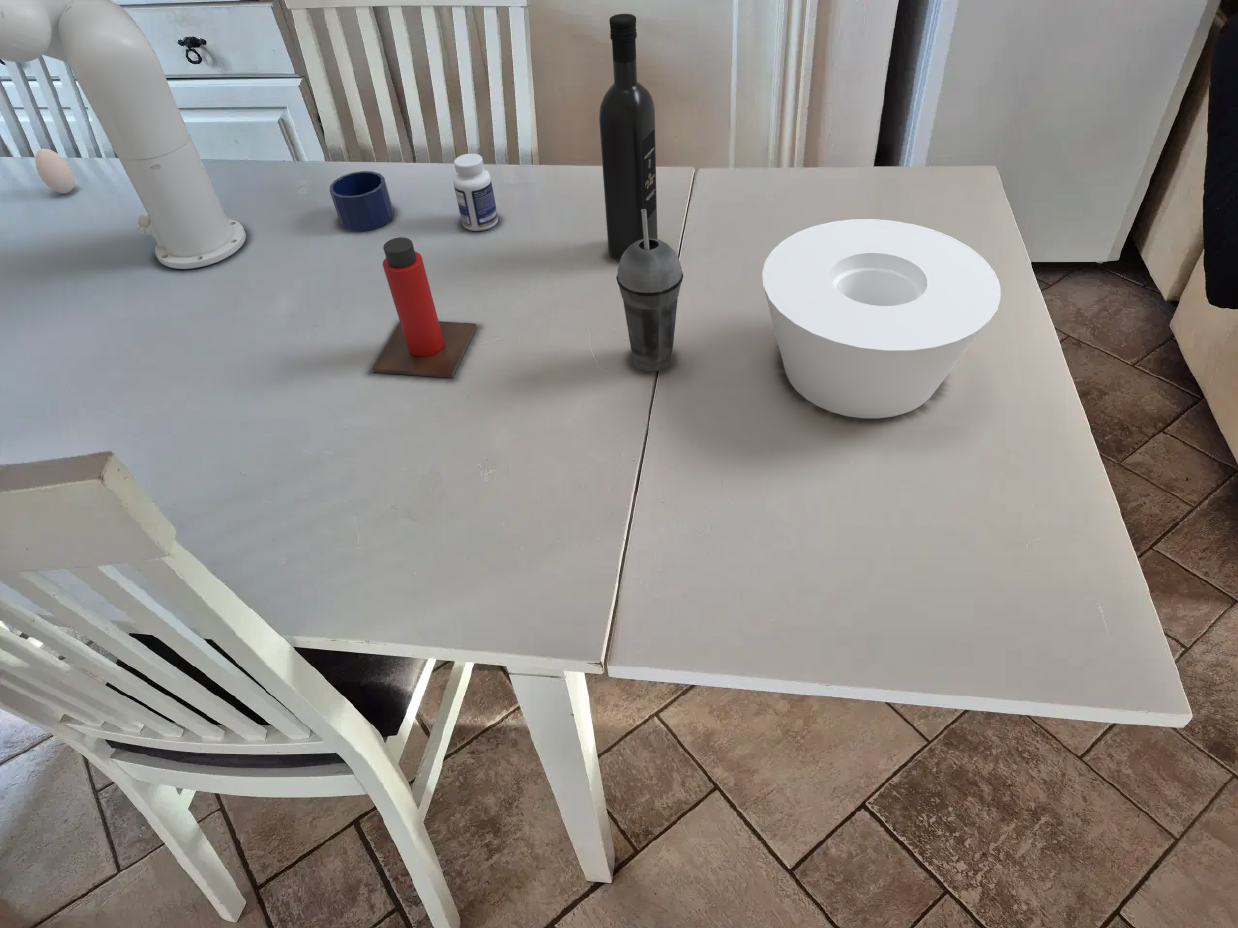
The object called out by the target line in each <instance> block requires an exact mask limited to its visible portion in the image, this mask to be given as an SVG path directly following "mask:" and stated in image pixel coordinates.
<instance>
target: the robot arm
mask: <svg viewBox="0 0 1238 928" xmlns="http://www.w3.org/2000/svg"><path fill="white" fill-rule="evenodd" d="M239 1H240V2H259V1H260V0H239ZM42 56H45V57H47V58H51V59H55V60H58V61H61V62H64V63H68V65H69V67H70V69H71V72H72V74H73V76H74V78H75V80H76V82H77V84H78V85H79V88H80V89H81V91H82V93H83V95H84V96H85V98H86V100H87V102H88V103H89V105H90V107H91V109H92V111H93V113H94V115H95V117H96V119H97V120H98V122H99V124H100V126H101V128H102V131H103V132H104V134H105V136H106V137H107V139H108V142H109V143H110V145H111V147H112V149H113V151H114V153H115V155H116V156H117V158H118V160H119V162H120V164H121V166H122V167H123V170H124V171H125V173H126V175H127V177H128V180H129V181H130V183H131V185H132V187H133V189H134V191H135V193H136V194H137V196H138V198H139V200H140V202H141V204H142V206H143V208H144V210H145V212H146V214H147V215H145V214H144V215H143V214H142V215H139V217H138V218H137V223H138V226H137V228H136V232H137V233H136V234H137V235H138V236H139V237H152V238H153V240H154V241H155V243H156V244H155V247H154V253H155V257H156V258H157V260H158V262H159V263H161V264H162V265H163V266H165V267H168V268H172V269H176V270H177V269H179V270H189V269H197V268H203V267H207V266H211V265H213V264H216V263H219V262H220V261H224V260H226V259H227V258H229V257H231V256H232V255H234V254H235V253H236V252H238V251H239V250H240V249H241V248H242V247H243V245H244V243H245V242H246V238H247V233H246V231H245V229H244V226H243V225H242V224H241V223H240V222H238V221H237V220H234V219H231V218H228V217H227V214H226V213H225V209H224V208H223V205H222V203H221V201H220V198H219V197H218V194H217V191H216V190H215V188H214V185H213V183H212V181H211V178H210V176H209V174H208V172H207V169H206V167H205V165H204V163H203V160H202V158H201V156H200V153H199V151H198V149H197V147H196V144H195V142H194V140H193V137H192V136H191V133H190V131H189V130H188V127H187V125H186V123H185V121H184V118H183V116H182V114H181V111H180V108H179V107H178V105H177V101H176V100H175V97H174V94H173V93H172V89H171V87H170V84H169V82H168V79H167V77H166V74H165V71H164V69H163V66H162V64H161V62H160V59H159V58H158V55H157V53H156V51H155V49H154V48H153V46H152V44H151V42H150V41H149V39H148V38H147V36H146V35H145V33H144V32H143V30H142V29H141V27H140V26H139V25H138V23H137V22H136V21H135V19H134V18H133V17H132V16H131V15H130V14H129V13H128V11H126V10H125V9H124V8H123V7H122V6H121V5H119V4H118V3H116V2H114V1H113V0H0V60H2V61H6V62H9V63H11V62H12V63H27V62H32V61H35V60H37V59H39V58H40V57H42Z"/></svg>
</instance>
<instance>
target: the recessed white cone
mask: <svg viewBox="0 0 1238 928" xmlns="http://www.w3.org/2000/svg"><path fill="white" fill-rule="evenodd" d="M761 276H762V285H763V290H764V293H765V297H766V302H767V306H768V310H769V313H770V317H771V321H772V325H773V329H774V333H775V337H776V341H777V345H778V348H779V353H780V357H781V360H782V364H783V368H784V372H785V374H786V377H787V380H788V381H789V383H790V384H791V386H792V387H793V388H794V390H795V391H796V392H797V393H798V394H799V395H800V396H802V397H803V398H804V399H805V400H807V401H808V402H810V403H812V404H813V405H814V406H817V407H819V408H821V409H824V410H826V411H828V412H830V413H834V414H836V415H837V414H838V415H841V416H844V417H851V418H857V419H885V418H892V417H893V418H894V417H897V416H900V415H904V414H908V413H910V412H912V411H914V410H915V409H918V408H919V407H921V406H922V405H924V404H925V403H926V402H927V401H929V400H930V398H931V397H932V396H933V394H934V393H935V392H936V391H937V389H938V388H939V387H940V386H941V384H942V383H943V381H945V379H946V378H947V376H948V375H949V374H950V372H952V370H953V369H954V367H955V366H956V365H957V364H958V362H959V361H960V360H961V358H963V356H964V354H965V353H966V352H967V350H968V349H969V348H970V347H971V345H972V344H973V343H974V342H975V340H976V339H977V338H978V336H979V335H980V334H981V333H982V331H983V330H984V329H985V328H986V327H987V325H988V324H989V323H990V321H991V319H992V318H993V317H994V315H995V314H996V312H997V311H998V310H999V305H1000V302H1001V300H1002V299H1001V298H1002V291H1001V283H1000V281H999V279H998V276H997V274H996V272H995V270H994V269H993V267H992V266H991V265H990V264H989V263H988V262H987V260H986V259H985V258H984V257H983V256H982V255H980V254H979V253H978V252H977V251H976V250H974V249H973V248H972V247H970V246H969V245H967V244H966V243H963V242H962V241H960V240H958V239H956V238H955V237H952V236H950V235H947V234H945V233H942V232H940V231H938V230H936V229H932V228H928V227H925V226H922V225H918V224H914V223H908V222H903V221H897V220H889V219H875V218H857V219H856V218H854V219H844V220H835V221H829V222H825V223H821V224H817V225H813V226H810V227H807V228H805V229H802V230H800V231H797V232H795V233H794V234H791V235H790V236H788V237H787V238H785V239H783V240H782V241H781V242H780V243H778V244H777V245H776V246H775V247H774V248H773V249H772V250H771V252H770V253H769V254H768V256H767V258H766V259H765V261H764V264H763V268H762V274H761Z"/></svg>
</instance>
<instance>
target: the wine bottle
mask: <svg viewBox="0 0 1238 928" xmlns="http://www.w3.org/2000/svg"><path fill="white" fill-rule="evenodd" d="M608 23H609V29H610V31H609V32H610V34H609V37H610V40H611V48H612V49H611V50H612V69H613V70H612V71H613V84H612V85H610V87H609V88H608V89H607V91H606V92H605V94H604V95H603V98H602V100H601V103H600V107H599V114H598V121H599V123H598V124H599V132H600V133H599V137H600V149H601V151H600V152H601V161H602V162H601V164H602V178H603V180H602V181H603V192H604V193H603V194H604V206H605V221H606V222H605V223H606V237H607V250H608V251H607V252H608V256H609V257H610V258H611V259H614V260H618V261H620V260H621V257H622V255H623V253H624V252H625V251H626V250H627V248H628V247H629V246H630V245H632V244H633V243H635V242H637V241H639V240H642V239H644V235H643V223H642V211H641V210H642V209H646V214H647V226H648V238H653V239H658V207H657V206H658V205H657V161H656V160H657V155H656V153H657V152H656V150H657V149H656V109H655V102H654V99H653V96H652V95H651V92H649V90H648V88H646V87H645V86H644V85H643V84H642V83H640V82H639V81H638V69H637V68H638V67H637V41H636V39H637V37H638V33H637V17H636V15H634V14H632V13H618V14H614V15H612V16H610V18H609V22H608Z"/></svg>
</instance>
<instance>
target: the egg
mask: <svg viewBox="0 0 1238 928" xmlns="http://www.w3.org/2000/svg"><path fill="white" fill-rule="evenodd" d="M34 161H35V162H34V163H35V168H36V171H37V174H38V176H39V178H40V180H41V181H42V182H43V183H44V184H45V185H46V186H47V187H48V188H49V189H50V190H52V191H53V192H55V193H59V194H63V195H64V194H69V193H71V192H72V191H73V190H74V187H75V183H76V181H75V174H74V172H73V169H72V167H71V166H70V165H69V163H68V162H67V161H66V159H64V158H63V157H62V156H61V155H60V154H59V153H57V152H56V151H54V150H52V149H49V148H40V149H39V150H38V151H36V154H35V157H34Z"/></svg>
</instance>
